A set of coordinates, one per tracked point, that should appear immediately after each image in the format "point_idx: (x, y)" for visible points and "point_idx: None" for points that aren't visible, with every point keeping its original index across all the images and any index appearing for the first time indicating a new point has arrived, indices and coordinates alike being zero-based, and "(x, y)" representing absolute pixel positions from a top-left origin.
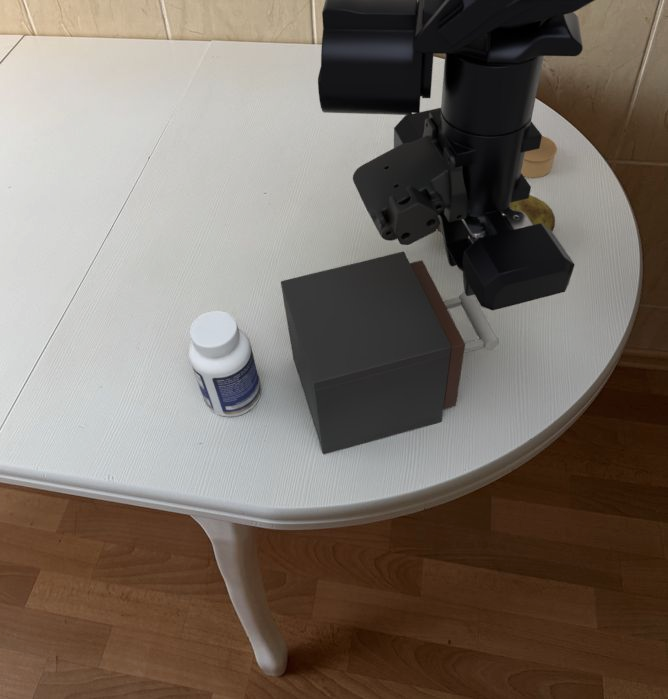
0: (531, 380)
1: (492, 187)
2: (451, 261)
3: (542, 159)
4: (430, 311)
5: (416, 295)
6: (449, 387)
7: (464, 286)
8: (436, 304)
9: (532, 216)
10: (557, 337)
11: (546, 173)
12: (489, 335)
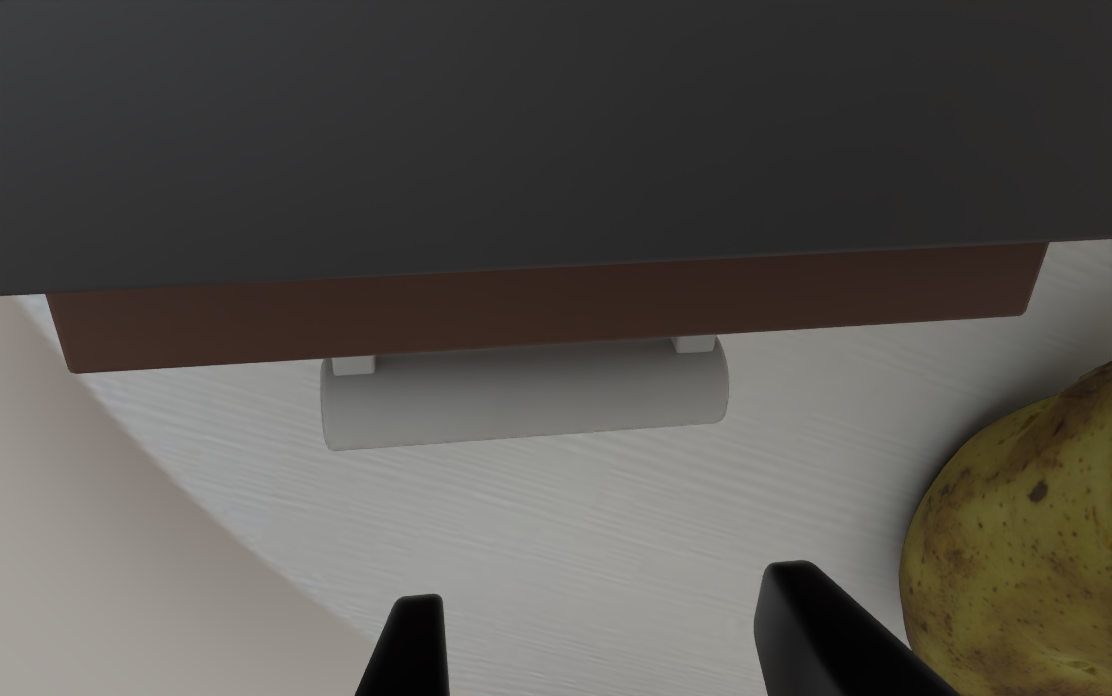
0: (318, 390)
1: None
2: (787, 614)
3: None
4: (403, 252)
5: (644, 189)
6: None
7: (418, 676)
8: (545, 291)
9: (1007, 686)
10: (494, 524)
11: None
12: (364, 426)
